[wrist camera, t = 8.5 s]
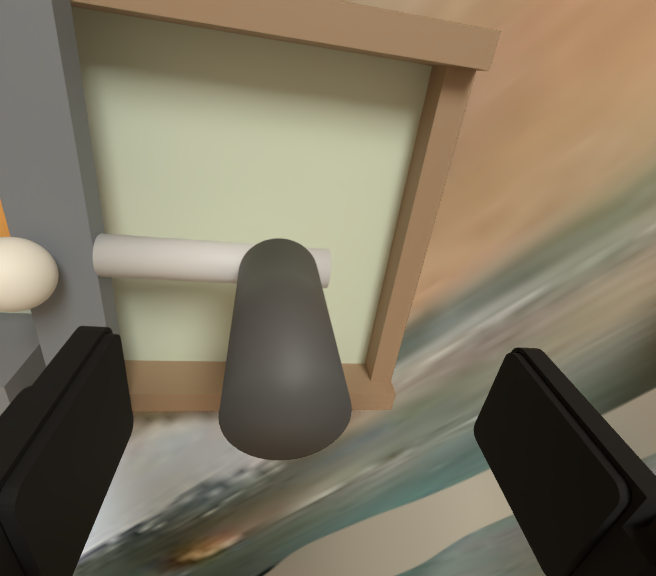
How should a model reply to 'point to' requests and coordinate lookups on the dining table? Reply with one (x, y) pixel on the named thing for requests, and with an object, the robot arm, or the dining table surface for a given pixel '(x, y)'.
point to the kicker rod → (150, 254)
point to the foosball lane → (264, 170)
